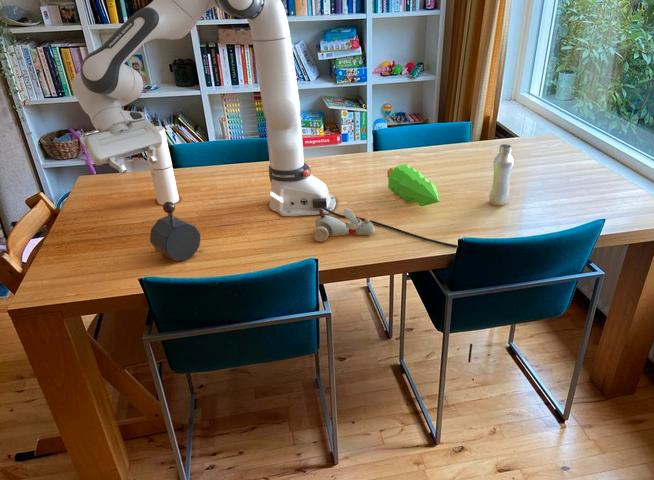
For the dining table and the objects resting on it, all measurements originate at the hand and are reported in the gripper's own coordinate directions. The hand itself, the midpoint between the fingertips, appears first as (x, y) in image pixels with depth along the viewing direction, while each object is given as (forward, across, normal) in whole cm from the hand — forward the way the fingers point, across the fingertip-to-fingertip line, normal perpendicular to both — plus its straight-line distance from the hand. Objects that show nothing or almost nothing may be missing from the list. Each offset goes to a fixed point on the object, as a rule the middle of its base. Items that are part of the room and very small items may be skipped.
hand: (140, 167), depth 151 cm
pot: (+25, 0, +9) cm, 26 cm away
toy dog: (+44, +39, -10) cm, 60 cm away
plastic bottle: (+63, +89, -29) cm, 113 cm away
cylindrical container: (0, +19, +34) cm, 39 cm away
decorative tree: (+46, +72, -12) cm, 86 cm away
